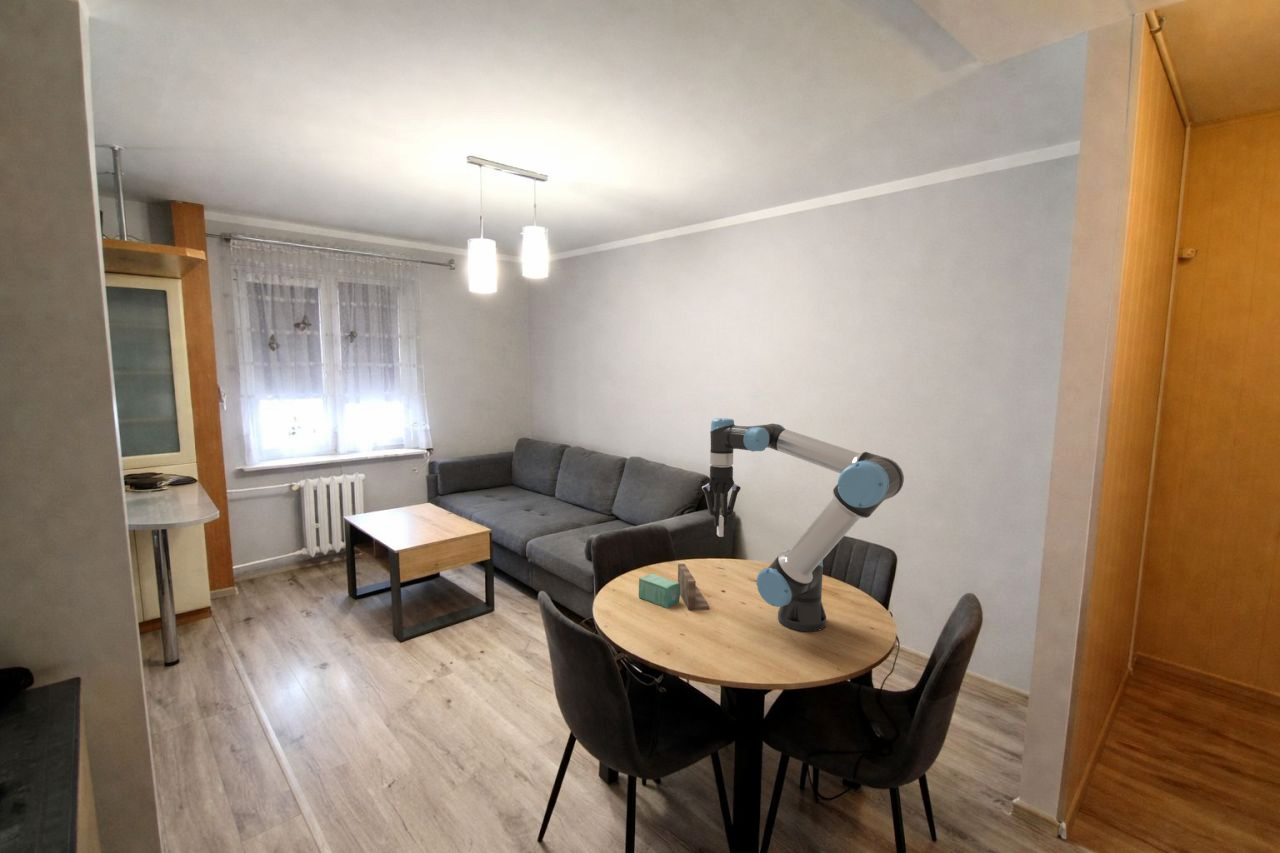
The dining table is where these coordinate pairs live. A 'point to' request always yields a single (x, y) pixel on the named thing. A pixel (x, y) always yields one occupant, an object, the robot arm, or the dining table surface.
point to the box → (659, 590)
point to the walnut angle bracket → (690, 590)
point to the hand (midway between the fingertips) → (720, 535)
